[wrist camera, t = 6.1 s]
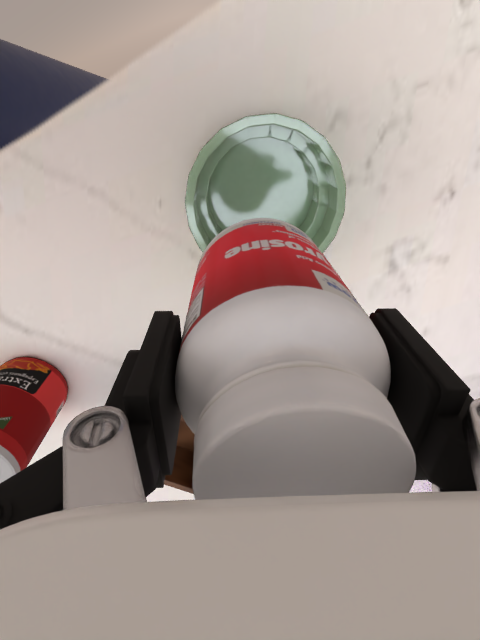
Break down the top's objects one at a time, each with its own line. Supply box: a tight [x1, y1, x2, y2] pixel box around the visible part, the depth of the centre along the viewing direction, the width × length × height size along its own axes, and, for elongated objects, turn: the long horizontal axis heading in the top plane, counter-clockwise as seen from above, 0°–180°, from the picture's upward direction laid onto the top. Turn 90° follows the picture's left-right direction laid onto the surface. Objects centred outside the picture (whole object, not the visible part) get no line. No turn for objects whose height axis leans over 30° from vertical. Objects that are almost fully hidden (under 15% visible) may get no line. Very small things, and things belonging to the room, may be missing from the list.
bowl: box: [185, 113, 346, 254], centre depth 25 cm, size 11×11×5 cm
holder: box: [164, 414, 195, 494], centre depth 38 cm, size 11×11×6 cm
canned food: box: [0, 357, 68, 483], centre depth 33 cm, size 8×8×11 cm
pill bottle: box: [175, 218, 416, 500], centre depth 12 cm, size 6×6×11 cm
